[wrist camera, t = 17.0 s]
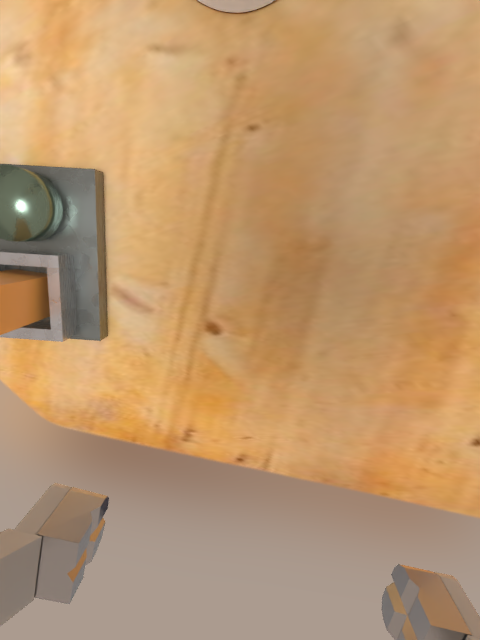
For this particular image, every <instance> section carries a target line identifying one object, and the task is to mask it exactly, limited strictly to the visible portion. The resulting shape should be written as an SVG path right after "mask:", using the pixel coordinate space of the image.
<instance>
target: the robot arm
mask: <svg viewBox="0 0 480 640" xmlns="http://www.w3.org/2000/svg"><path fill="white" fill-rule="evenodd" d="M198 1H199V2H201V3H203V4H204V5H206V6H208V7H211V8H213V9H216V10H220V11H224V12H238V13H239V12H247V11H252V10H256V9H259V8H261V7H264V6H266V5H268V4H270V3H271V2H273V1H274V0H198ZM108 501H109V497H108V496H105V495H101V494H97V493H94V492H90V491H86V490H82V489H78V488H74V487H73V488H72V487H68V486H65V485H61V484H58V483H55V484H53V485H51V486H50V487H49V488H48V490H47V491H46V492H45V493H44V494H43V495H42V497H41V498H40V499H39V500H38V501H37V503H36V504H35V505H34V506H33V507H32V509H31V510H30V511H29V512H28V513H27V515H26V516H25V517H24V518H23V519H22V521H21V522H20V523H19V524H18V525H17V527H16V528H15V529H14V530H13V529H6V530H4V531H2V532H0V626H1V625H3V624H4V623H5V622H6V621H8V620H9V619H10V618H12V617H13V616H14V615H15V614H17V613H18V612H19V611H20V610H22V609H23V608H24V607H25V606H27V605H28V604H29V603H31V602H32V601H33V600H34V597H35V598H40V599H45V600H50V601H56V602H61V603H65V604H70V602H71V600H72V598H73V596H74V594H75V593H76V590H77V589H78V586H79V585H80V583H81V581H82V579H83V575H84V569H85V565H87V564H88V563H90V562H91V561H92V559H93V557H94V555H95V553H96V551H97V548H98V546H99V543H100V540H101V538H102V534H103V530H104V526H105V521H104V519H103V516H104V514H105V512H106V510H107V509H108ZM391 575H392V578H393V581H394V583H392V584H390V585H389V586H387V587H386V588H385V591H384V594H383V597H382V614H383V620H384V623H385V626H386V629H387V631H388V632H389V633H390V634H391V635H392V637H393V638H394V639H395V640H480V617H479V615H478V613H477V612H476V610H475V608H474V607H473V605H472V603H471V602H470V600H469V598H468V597H467V595H466V593H465V592H464V590H463V588H462V587H461V585H460V584H459V582H458V580H457V579H455V578H454V577H453V576H450V575H446V574H442V573H437V572H431V571H427V570H423V569H418V568H414V567H409V566H405V565H400V564H398V565H397V566H396V567H395V568H394V570H393V572H392V574H391Z"/></svg>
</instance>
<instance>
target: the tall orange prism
mask: <svg viewBox="0 0 480 640" xmlns="http://www.w3.org/2000/svg"><path fill="white" fill-rule="evenodd" d="M47 317H50V309H49V293H48V278H47V274H46V273H39V272H32V271H26V270H19V269H12V270H5V271H0V335H2V334H5V333H8V332H10V331H13V330H15V329H18V328H21V327H23V326H26V325H29V324H31V323H34V322H36V321H39V320H42V319H44V318H47Z"/></svg>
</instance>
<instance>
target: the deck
mask: <svg viewBox="0 0 480 640" xmlns="http://www.w3.org/2000/svg"><path fill="white" fill-rule="evenodd" d="M12 269H19V270H26V271H32V272H39V273H46V274H47V278H48V293H49V309H50V317H47V318H44V319H42V320H39V321H36V322H34V323H31V324H29V325H26V326H23V327H21V328H18V329H15V330H13V331H10V332H8V333H5V334H2V335H0V337H6V338H20V339H34V340H47V341H61V342H63V341H65V340H67V339H69V338H70V339H84V340H98V341H101V340H102V339H104V338H105V337H107V336H108V334H107V297H106V260H105V223H104V186H103V173H102V172H100V171H97V170H95V169H80V168H63V167H46V166H29V165H11V164H0V271H5V270H12Z"/></svg>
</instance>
